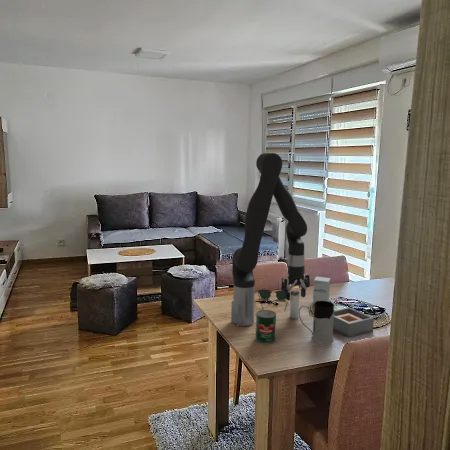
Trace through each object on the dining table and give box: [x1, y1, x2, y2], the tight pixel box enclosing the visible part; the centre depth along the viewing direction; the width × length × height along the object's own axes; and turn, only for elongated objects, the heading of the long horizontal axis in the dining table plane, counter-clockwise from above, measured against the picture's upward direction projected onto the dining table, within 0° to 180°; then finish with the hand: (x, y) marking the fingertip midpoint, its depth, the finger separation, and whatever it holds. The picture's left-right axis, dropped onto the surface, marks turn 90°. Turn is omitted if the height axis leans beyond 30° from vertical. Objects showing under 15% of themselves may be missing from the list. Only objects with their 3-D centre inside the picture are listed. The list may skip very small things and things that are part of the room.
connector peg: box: [289, 290, 300, 320], centre depth 185 cm, size 4×4×12 cm
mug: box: [298, 301, 335, 345], centre depth 162 cm, size 9×14×15 cm, turn 81°
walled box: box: [333, 307, 375, 339], centre depth 173 cm, size 14×14×6 cm
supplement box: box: [312, 276, 331, 305], centre depth 204 cm, size 7×7×13 cm
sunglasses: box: [257, 289, 290, 311], centre depth 202 cm, size 16×17×5 cm
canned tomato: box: [255, 309, 277, 345], centre depth 161 cm, size 8×8×11 cm
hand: (295, 298), depth 185 cm, fingers open, 8 cm apart
